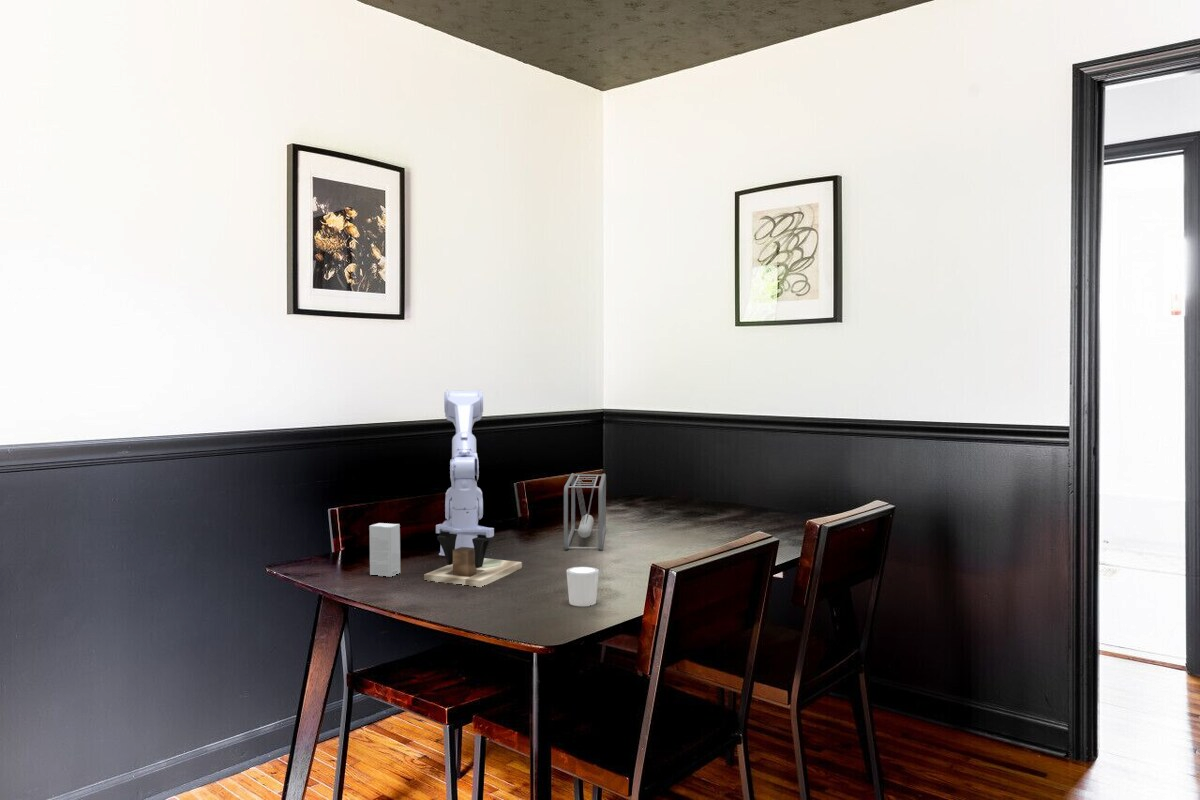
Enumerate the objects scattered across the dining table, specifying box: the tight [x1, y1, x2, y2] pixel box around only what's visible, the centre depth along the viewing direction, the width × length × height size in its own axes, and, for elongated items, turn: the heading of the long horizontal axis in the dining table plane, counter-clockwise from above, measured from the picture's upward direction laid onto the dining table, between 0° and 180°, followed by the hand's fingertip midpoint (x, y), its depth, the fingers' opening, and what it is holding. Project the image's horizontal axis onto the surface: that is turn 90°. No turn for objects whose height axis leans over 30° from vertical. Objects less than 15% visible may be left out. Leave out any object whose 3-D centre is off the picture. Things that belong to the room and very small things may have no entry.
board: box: [423, 557, 523, 588], centre depth 203 cm, size 15×20×2 cm
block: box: [453, 547, 477, 577], centre depth 199 cm, size 4×4×7 cm
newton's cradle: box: [563, 472, 607, 551], centre depth 244 cm, size 30×10×18 cm, turn 178°
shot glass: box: [566, 566, 600, 607], centre depth 179 cm, size 7×7×7 cm
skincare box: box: [368, 522, 401, 578], centre depth 203 cm, size 6×4×12 cm
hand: (464, 565), depth 199 cm, fingers open, 7 cm apart
